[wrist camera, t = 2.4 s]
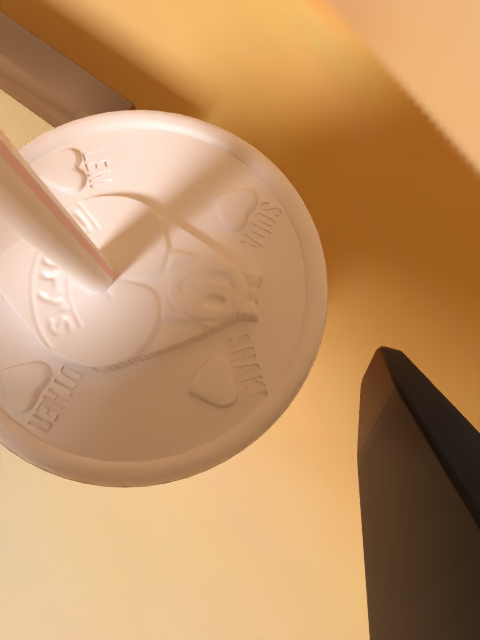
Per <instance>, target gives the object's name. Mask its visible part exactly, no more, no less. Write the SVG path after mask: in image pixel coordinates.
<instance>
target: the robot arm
mask: <svg viewBox="0 0 480 640" xmlns="http://www.w3.org/2000/svg"><path fill="white" fill-rule="evenodd" d="M357 463H358V479H359V493H360V507H361V521H362V535H363V549H364V563H365V577H366V591H367V606H368V620H369V634H370V640H480V433H479V432H478V431H477V430H476V429H475V427H474V426H473V425H472V424H471V423H470V422H469V421H468V420H467V419H466V418H465V417H464V416H463V415H462V414H461V413H460V412H459V411H458V410H457V409H456V408H455V407H454V406H453V404H452V403H451V402H450V401H449V400H448V399H447V398H446V397H445V396H444V395H443V394H442V393H441V392H440V391H439V390H438V389H437V388H436V387H435V386H434V385H433V384H432V382H431V381H430V380H429V379H428V378H427V377H426V376H425V375H424V374H423V373H422V372H421V371H420V370H419V369H418V368H417V367H416V366H415V365H414V364H413V363H412V362H411V360H410V359H409V358H408V357H407V356H406V355H405V354H404V353H403V352H402V351H400V350H397V349H393V348H389V347H385V346H381V347H379V348H378V349H377V350H376V352H375V354H374V356H373V358H372V360H371V362H370V364H369V366H368V368H367V370H366V372H365V374H364V377H363V379H362V383H361V391H360V409H359V427H358V446H357Z"/></svg>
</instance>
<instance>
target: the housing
mask: <svg viewBox="0 0 480 640" xmlns="http://www.w3.org/2000/svg"><path fill="white" fill-rule="evenodd" d="M0 89H2V90H3V91H4V92H6V93H7V94H9V95H10V96H11V97H13V98H14V99H16V100H17V101H18V102H20V103H21V104H23V105H24V106H25V107H27V108H28V109H30V110H31V111H32V112H34V113H35V114H37V115H38V116H39V117H41V118H42V119H44V120H45V121H46V122H48V123H49V124H51V125H52V126H53V127H55V128H56V127H58V126H61V125H64V124H66V123H69V122H71V121H74V120H78V119H81V118H85V117H88V116H92V115H97V114H102V113H107V112H115V111H125V110H136V109H135V106H134V104H133V103H132V102H130V101H129V100H128V99H126V98H125V97H123V96H122V95H120V94H119V93H117V92H116V91H115V90H113V89H112V88H110V87H109V86H107V85H106V84H104V83H103V82H102V81H100V80H99V79H97V78H96V77H94V76H93V75H92V74H90V73H89V72H87V71H86V70H84V69H83V68H81V67H80V66H79V65H77V64H76V63H74V62H73V61H71V60H70V59H69V58H67V57H66V56H64V55H63V54H61V53H60V52H58V51H57V50H56V49H54V48H53V47H51V46H50V45H48V44H47V43H45V42H44V41H43V40H41V39H40V38H38V37H37V36H35V35H34V34H33V33H31V32H30V31H28V30H27V29H25V28H24V27H22V26H21V25H20V24H18V23H17V22H15V21H14V20H12V19H11V18H9V17H8V16H7V15H5V14H4V13H2V12H1V11H0Z"/></svg>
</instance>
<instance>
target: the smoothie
mask: <svg viewBox="0 0 480 640" xmlns="http://www.w3.org/2000/svg"><path fill="white" fill-rule="evenodd" d="M327 305H328V280H327V269H326V263H325V257H324V252H323V248H322V244H321V241H320V238H319V234H318V231H317V229H316V226H315V224H314V222H313V219H312V217H311V215H310V213H309V211H308V209H307V207H306V205H305V203H304V201H303V200H302V198H301V197H300V195H299V194H298V192H297V191H296V189H295V188H294V186H293V185H292V184H291V182H290V181H289V180H288V179H287V177H286V176H285V175H284V174H283V173H282V172H281V171H280V170H279V169H278V167H277V166H276V165H275V164H274V163H273V162H272V161H271V160H269V159H268V158H267V157H266V156H265V155H264V154H262V153H261V152H260V151H259V150H258V149H256V148H255V147H253V146H252V145H250V144H249V143H248V142H246V141H245V140H243V139H241V138H240V137H238V136H236V135H234V134H233V133H231V132H229V131H227V130H225V129H223V128H220V127H218V126H216V125H214V124H211V123H208V122H206V121H203V120H200V119H197V118H193V117H189V116H185V115H181V114H176V113H170V112H163V111H151V110H125V111H115V112H107V113H102V114H97V115H92V116H88V117H85V118H81V119H78V120H74V121H71V122H69V123H66V124H64V125H61V126H58V127H56V128H54V129H52V130H50V131H48V132H46V133H44V134H42V135H40V136H38V137H36V138H35V139H33V140H31V141H30V142H28V143H26V144H25V145H23V146H22V147H21V148H19V149H18V150H17V149H16V148H15V147H14V145H13V144H12V143H11V142H10V140H9V139H8V138H7V137H6V136H5V134H4V133H3V132H2V131H1V130H0V443H1V444H2V445H3V446H5V447H6V448H7V449H8V450H9V451H11V452H12V453H14V454H16V455H17V456H19V457H20V458H22V459H23V460H25V461H26V462H28V463H30V464H32V465H34V466H36V467H38V468H40V469H42V470H44V471H46V472H49V473H52V474H54V475H57V476H60V477H62V478H65V479H69V480H73V481H77V482H81V483H85V484H91V485H98V486H105V487H144V486H152V485H158V484H164V483H169V482H173V481H177V480H181V479H184V478H188V477H191V476H193V475H196V474H199V473H201V472H204V471H207V470H209V469H211V468H213V467H215V466H217V465H219V464H221V463H223V462H225V461H227V460H228V459H230V458H231V457H233V456H235V455H236V454H238V453H239V452H241V451H243V450H244V449H245V448H247V447H248V446H249V445H250V444H252V443H253V442H254V441H256V440H257V439H258V438H259V437H260V436H262V435H263V434H264V433H265V432H266V431H267V430H268V429H269V428H270V427H271V426H272V425H273V424H274V423H275V422H276V421H277V420H278V418H279V417H280V416H281V415H282V414H283V413H284V412H285V410H286V409H287V408H288V407H289V405H290V404H291V402H292V401H293V399H294V398H295V397H296V395H297V394H298V392H299V391H300V389H301V387H302V385H303V383H304V382H305V380H306V378H307V376H308V374H309V372H310V370H311V368H312V365H313V363H314V361H315V358H316V356H317V353H318V349H319V346H320V343H321V340H322V336H323V331H324V327H325V322H326V313H327Z"/></svg>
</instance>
